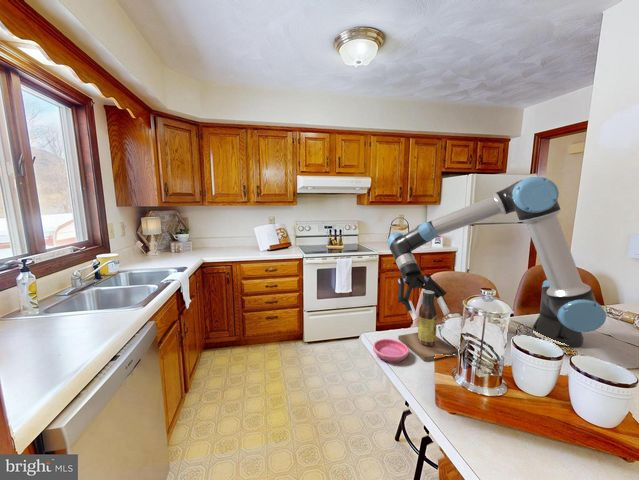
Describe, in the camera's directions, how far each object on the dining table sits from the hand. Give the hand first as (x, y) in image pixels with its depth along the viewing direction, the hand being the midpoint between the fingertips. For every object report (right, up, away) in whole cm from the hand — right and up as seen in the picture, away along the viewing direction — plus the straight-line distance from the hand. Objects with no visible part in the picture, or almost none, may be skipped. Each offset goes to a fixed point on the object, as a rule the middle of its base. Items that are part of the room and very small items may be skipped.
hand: (431, 316), depth 98 cm
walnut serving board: (0, -12, +4) cm, 13 cm away
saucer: (-15, -14, -1) cm, 21 cm away
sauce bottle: (0, -11, +4) cm, 12 cm away
